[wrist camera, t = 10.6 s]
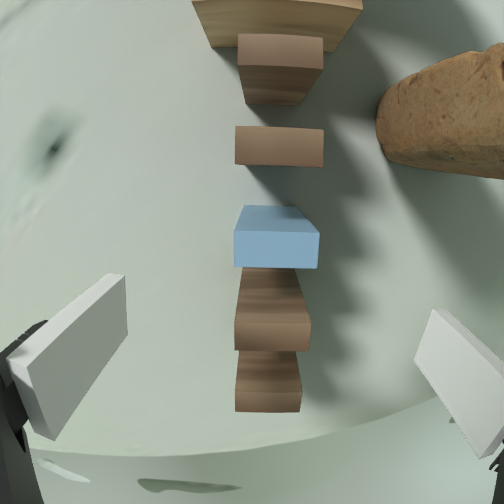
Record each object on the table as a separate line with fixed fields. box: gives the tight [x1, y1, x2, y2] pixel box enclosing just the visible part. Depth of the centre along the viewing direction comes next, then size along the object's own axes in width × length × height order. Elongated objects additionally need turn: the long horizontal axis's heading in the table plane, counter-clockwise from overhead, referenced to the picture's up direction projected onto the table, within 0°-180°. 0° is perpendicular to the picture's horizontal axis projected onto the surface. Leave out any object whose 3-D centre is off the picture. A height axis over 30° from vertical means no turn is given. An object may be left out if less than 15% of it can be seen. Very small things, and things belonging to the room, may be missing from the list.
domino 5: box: [235, 350, 302, 413], centre depth 27 cm, size 2×5×12 cm, turn 89°
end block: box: [191, 0, 363, 52], centre depth 20 cm, size 6×12×10 cm, turn 89°
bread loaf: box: [376, 43, 504, 180], centre depth 18 cm, size 11×8×20 cm
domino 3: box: [234, 205, 320, 269], centre depth 24 cm, size 2×5×12 cm, turn 89°
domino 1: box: [237, 34, 324, 106], centre depth 21 cm, size 2×5×12 cm, turn 89°
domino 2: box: [235, 126, 324, 167], centre depth 23 cm, size 2×5×12 cm, turn 89°
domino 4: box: [234, 267, 312, 351], centre depth 26 cm, size 2×5×12 cm, turn 89°
